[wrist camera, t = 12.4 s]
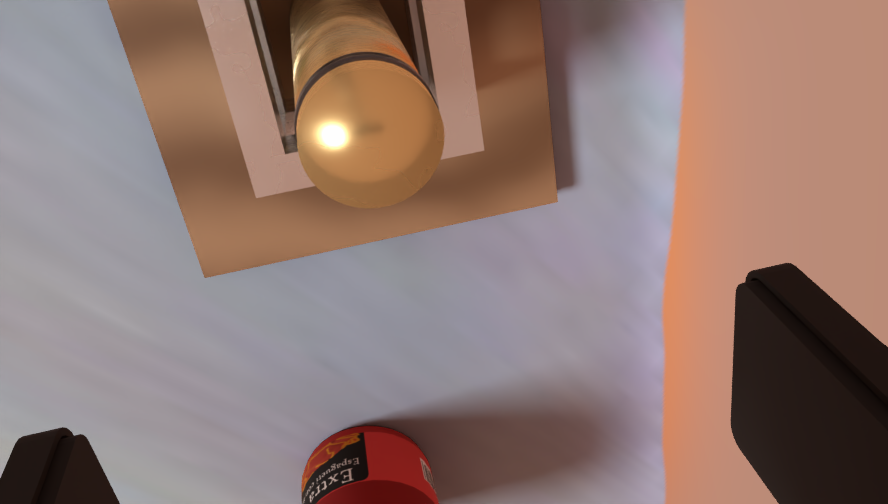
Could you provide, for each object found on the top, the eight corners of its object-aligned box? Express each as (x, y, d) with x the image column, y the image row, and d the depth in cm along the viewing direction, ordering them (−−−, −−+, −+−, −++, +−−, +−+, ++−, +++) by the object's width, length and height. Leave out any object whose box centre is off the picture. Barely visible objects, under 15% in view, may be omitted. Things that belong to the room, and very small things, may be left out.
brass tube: (277, -20, 34) (278, 83, 21) (374, -38, 34) (434, 52, 21) (301, 75, 36) (314, 223, 23) (391, 56, 36) (455, 192, 23)
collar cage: (202, -72, 32) (183, -47, 26) (421, -112, 33) (451, -96, 27) (261, 136, 37) (256, 198, 31) (453, 97, 37) (484, 150, 31)
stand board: (31, -239, 30) (22, -241, 29) (503, -317, 31) (511, -322, 30) (206, 266, 41) (204, 277, 40) (551, 192, 42) (557, 201, 41)
